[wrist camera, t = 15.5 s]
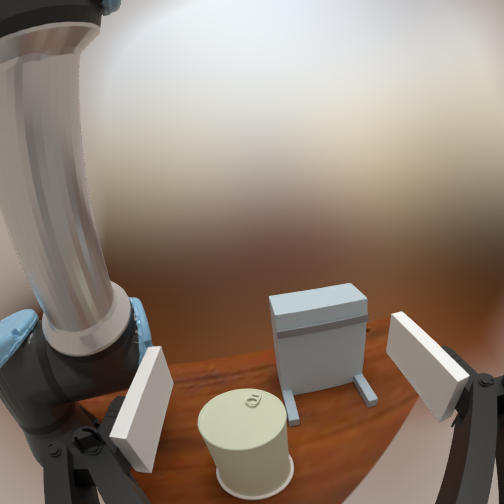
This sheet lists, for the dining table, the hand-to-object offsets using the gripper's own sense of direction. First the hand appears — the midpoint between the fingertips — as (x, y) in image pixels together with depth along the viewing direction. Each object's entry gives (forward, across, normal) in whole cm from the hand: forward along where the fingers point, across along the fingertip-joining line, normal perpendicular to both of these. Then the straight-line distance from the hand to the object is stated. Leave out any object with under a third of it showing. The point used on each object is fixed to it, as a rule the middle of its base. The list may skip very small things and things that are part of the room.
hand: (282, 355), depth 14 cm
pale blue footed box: (+21, +9, -25) cm, 34 cm away
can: (+7, -4, -25) cm, 26 cm away
